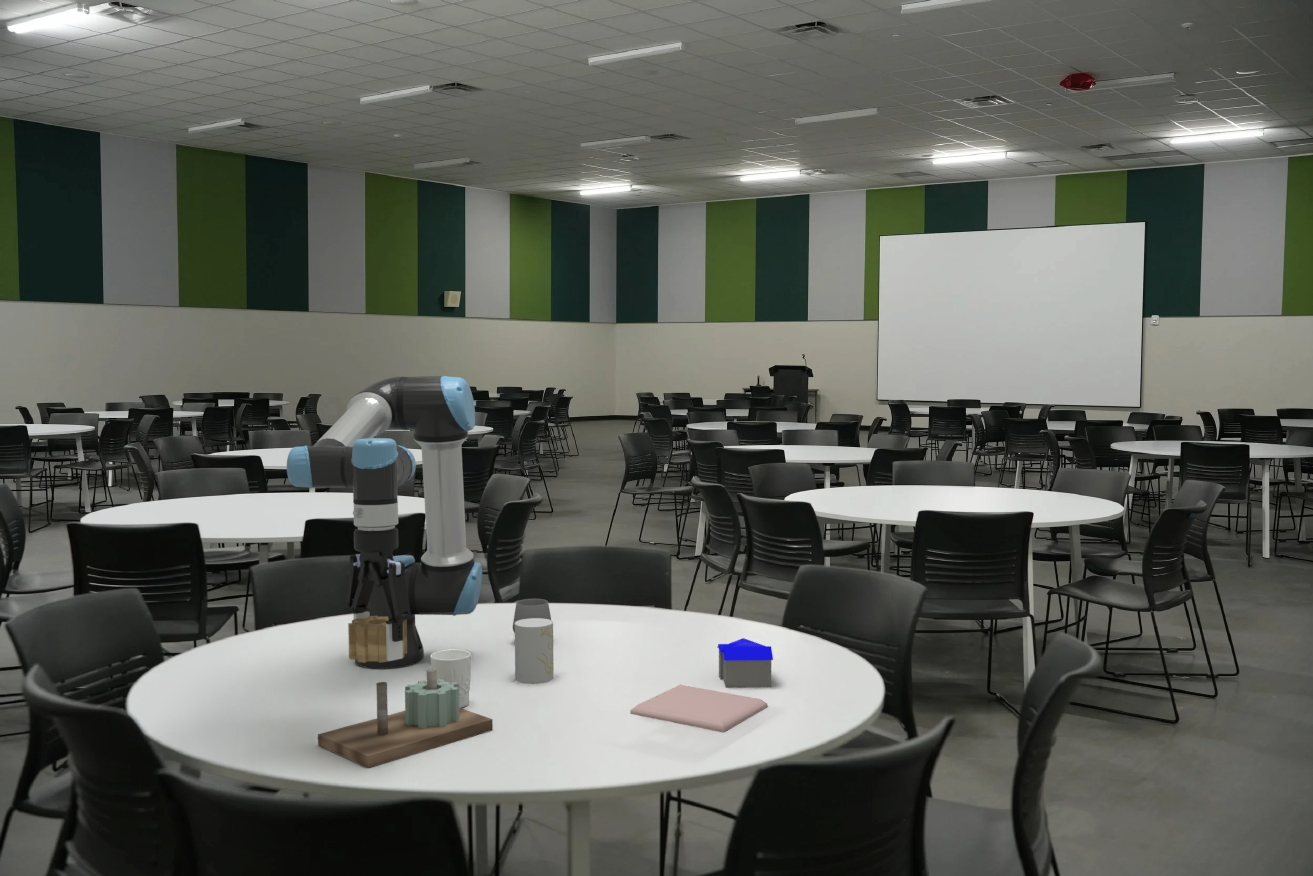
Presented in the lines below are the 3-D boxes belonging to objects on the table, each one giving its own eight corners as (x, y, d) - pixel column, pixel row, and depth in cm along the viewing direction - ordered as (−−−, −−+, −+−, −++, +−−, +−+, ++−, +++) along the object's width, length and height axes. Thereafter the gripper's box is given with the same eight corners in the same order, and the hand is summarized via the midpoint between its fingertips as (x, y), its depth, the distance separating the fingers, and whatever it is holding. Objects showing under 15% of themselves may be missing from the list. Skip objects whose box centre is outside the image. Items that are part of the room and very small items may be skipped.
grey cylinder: (547, 684, 229) (546, 628, 228) (509, 682, 231) (509, 626, 230) (558, 674, 237) (557, 619, 236) (522, 671, 239) (521, 617, 238)
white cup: (433, 699, 219) (432, 649, 219) (473, 698, 220) (472, 648, 219) (428, 711, 212) (427, 660, 211) (470, 710, 212) (469, 659, 212)
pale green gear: (394, 722, 199) (393, 689, 199) (432, 708, 207) (431, 676, 207) (432, 731, 194) (432, 698, 193) (470, 716, 202) (469, 684, 201)
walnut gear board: (318, 745, 193) (316, 683, 192) (440, 711, 212) (439, 655, 211) (367, 768, 182) (366, 703, 181) (492, 730, 201) (491, 670, 200)
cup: (560, 641, 265) (559, 600, 264) (535, 650, 257) (535, 607, 256) (529, 636, 270) (529, 596, 269) (504, 644, 262) (504, 603, 261)
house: (717, 674, 237) (717, 638, 236) (766, 674, 237) (766, 637, 237) (721, 688, 226) (721, 651, 226) (773, 688, 227) (773, 650, 226)
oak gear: (386, 645, 199) (386, 613, 199) (417, 655, 192) (416, 621, 192) (339, 655, 192) (338, 621, 192) (369, 665, 185) (368, 630, 185)
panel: (643, 686, 230) (643, 675, 230) (787, 712, 212) (787, 701, 212) (538, 733, 201) (538, 721, 201) (696, 769, 183) (695, 755, 183)
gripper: (323, 523, 196) (325, 647, 197) (393, 536, 180) (395, 670, 182) (360, 519, 201) (362, 640, 202) (431, 531, 186) (433, 661, 187)
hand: (378, 654), depth 192 cm, fingers closed on oak gear, 10 cm apart
